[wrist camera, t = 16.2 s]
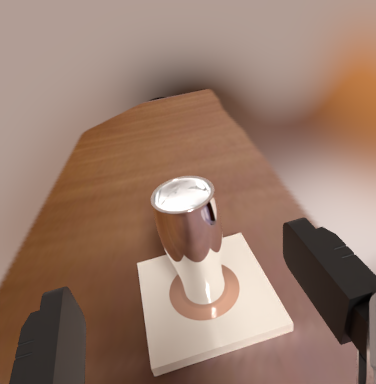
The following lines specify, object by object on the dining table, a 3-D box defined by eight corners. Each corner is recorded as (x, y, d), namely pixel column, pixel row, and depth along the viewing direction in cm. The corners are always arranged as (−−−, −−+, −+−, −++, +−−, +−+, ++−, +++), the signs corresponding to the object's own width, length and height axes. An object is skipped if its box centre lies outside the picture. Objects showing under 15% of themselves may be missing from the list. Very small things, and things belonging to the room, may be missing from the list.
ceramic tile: (154, 376, 35) (151, 368, 34) (139, 270, 48) (136, 262, 47) (293, 330, 36) (293, 322, 35) (241, 239, 49) (240, 232, 48)
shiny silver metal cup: (205, 324, 37) (180, 224, 29) (166, 293, 41) (135, 199, 33) (243, 284, 40) (230, 185, 32) (203, 260, 45) (183, 168, 37)
